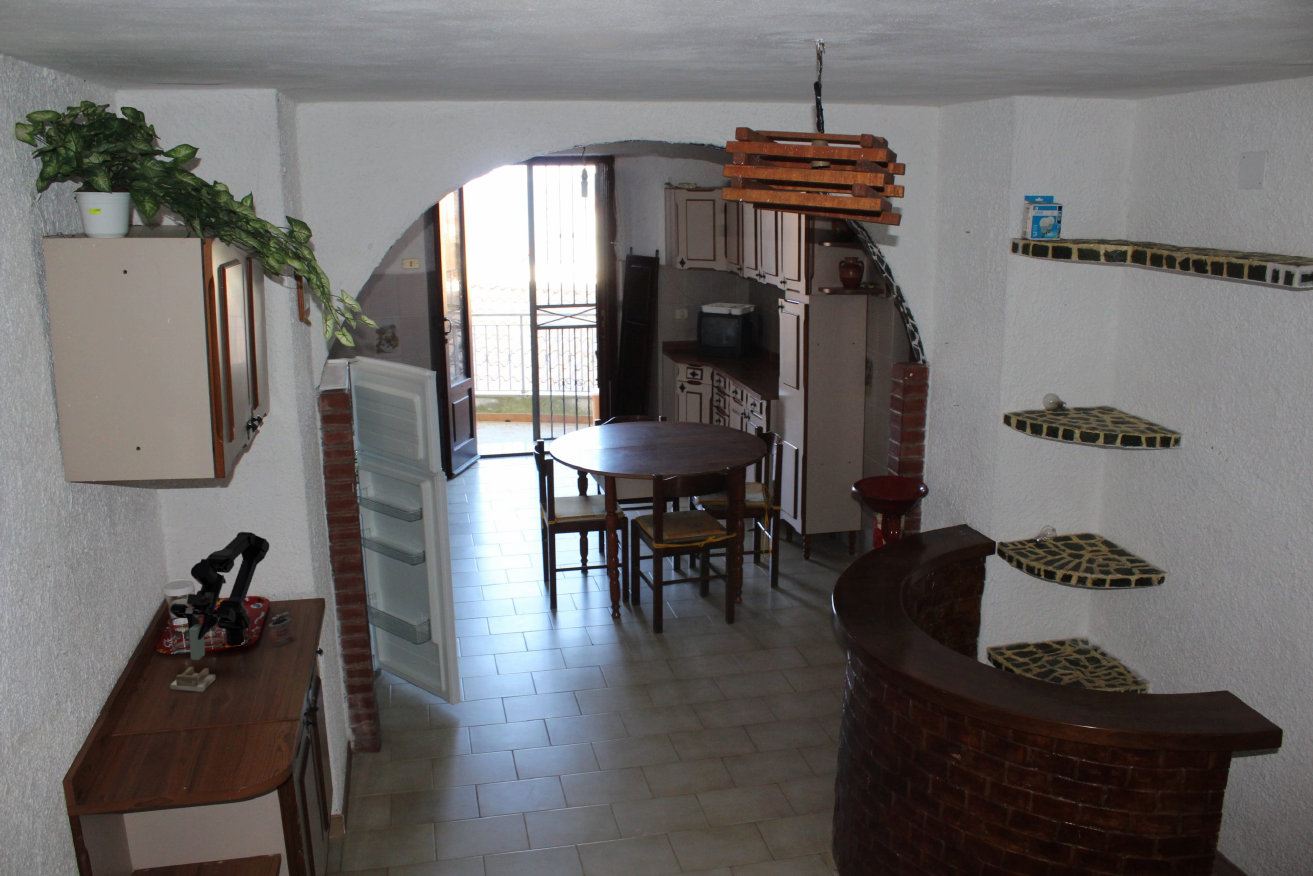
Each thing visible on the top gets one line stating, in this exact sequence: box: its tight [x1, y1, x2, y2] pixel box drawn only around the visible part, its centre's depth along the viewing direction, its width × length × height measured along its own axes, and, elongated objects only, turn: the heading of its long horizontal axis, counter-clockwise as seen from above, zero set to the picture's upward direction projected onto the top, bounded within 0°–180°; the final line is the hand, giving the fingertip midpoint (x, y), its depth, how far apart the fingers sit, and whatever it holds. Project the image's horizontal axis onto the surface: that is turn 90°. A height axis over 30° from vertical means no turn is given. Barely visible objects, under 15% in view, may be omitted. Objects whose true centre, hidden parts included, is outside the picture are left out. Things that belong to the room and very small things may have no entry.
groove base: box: [169, 666, 216, 693], centre depth 309 cm, size 8×10×4 cm
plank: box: [188, 623, 206, 661], centre depth 310 cm, size 4×2×10 cm, turn 176°
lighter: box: [268, 611, 293, 648], centre depth 338 cm, size 8×3×10 cm, turn 146°
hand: (194, 639), depth 309 cm, fingers closed on plank, 2 cm apart
